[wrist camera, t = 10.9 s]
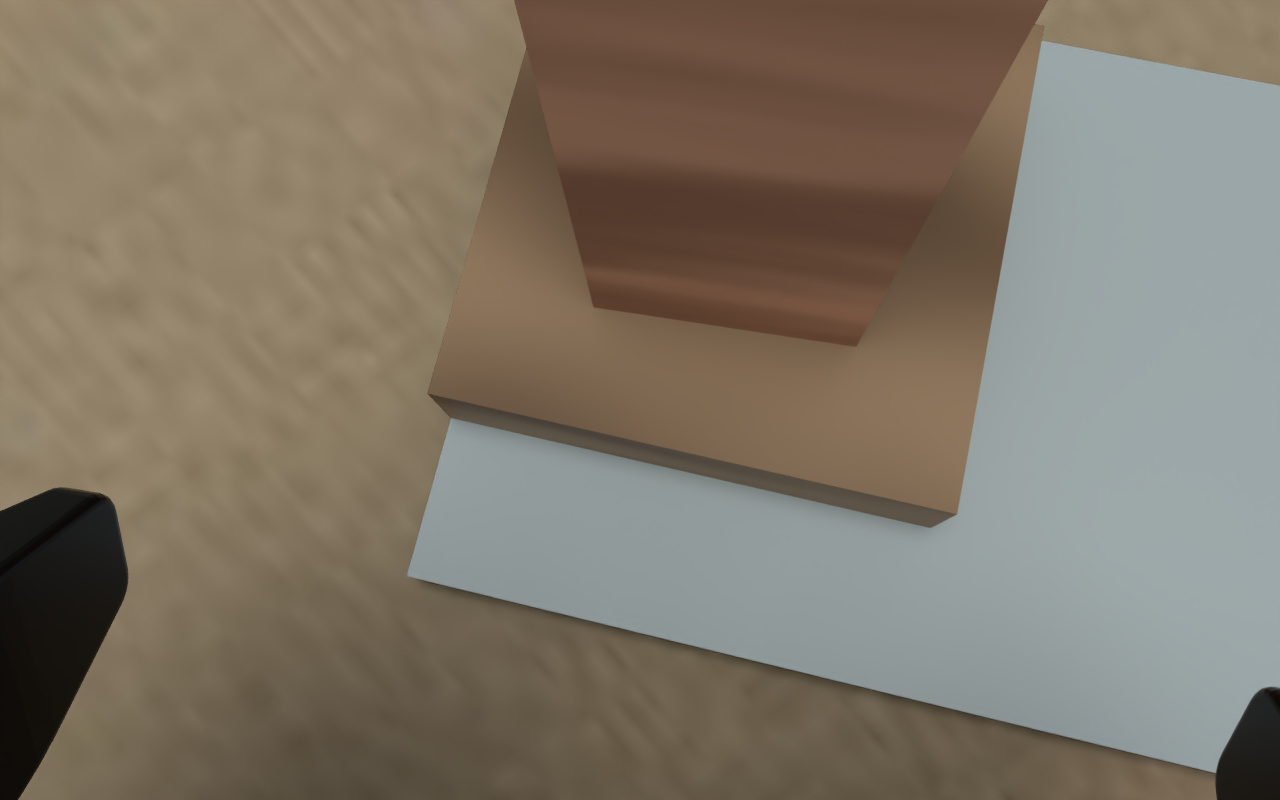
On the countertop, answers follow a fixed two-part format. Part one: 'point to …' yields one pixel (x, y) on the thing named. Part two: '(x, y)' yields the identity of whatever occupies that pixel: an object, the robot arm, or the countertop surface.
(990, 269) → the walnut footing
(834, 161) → the terracotta pillar
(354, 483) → the countertop surface
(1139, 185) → the board
